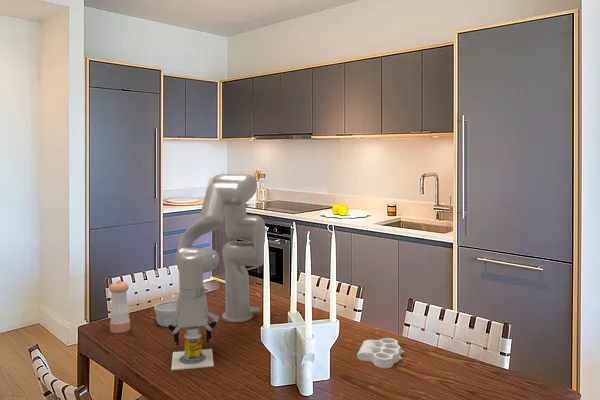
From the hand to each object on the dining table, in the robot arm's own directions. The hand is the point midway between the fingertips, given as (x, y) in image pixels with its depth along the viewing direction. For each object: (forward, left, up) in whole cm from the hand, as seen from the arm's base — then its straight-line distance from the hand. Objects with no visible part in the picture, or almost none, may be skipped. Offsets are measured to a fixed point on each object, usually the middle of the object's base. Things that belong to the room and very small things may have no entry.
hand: (192, 342), depth 157 cm
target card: (0, 0, -6) cm, 6 cm away
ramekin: (+8, -37, -6) cm, 38 cm away
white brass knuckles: (-62, +10, -6) cm, 63 cm away
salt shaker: (+27, -33, -6) cm, 43 cm away
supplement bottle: (0, 0, -5) cm, 5 cm away
